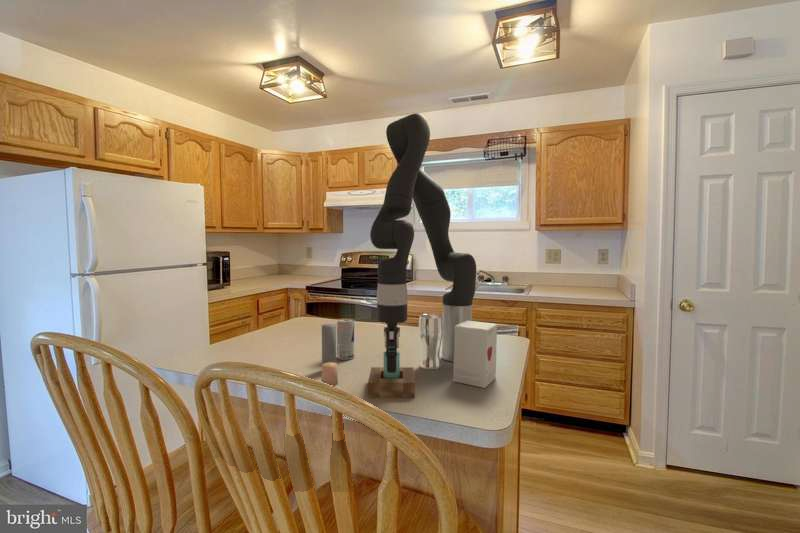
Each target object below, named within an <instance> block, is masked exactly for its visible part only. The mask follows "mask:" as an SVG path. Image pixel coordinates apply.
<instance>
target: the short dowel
mask: <svg viewBox="0 0 800 533" xmlns="http://www.w3.org/2000/svg"><path fill="white" fill-rule="evenodd" d="M338 369H339V364H338V363H337V362H336V363H334V362H328V363H324V364H322V363H321V383H322V382H324V383H327V384H329V385H333V386H332V387H335V386H337V385H338V384H339V380H338V379H339V376H338V375H339V373H338V372H339V371H338Z"/></svg>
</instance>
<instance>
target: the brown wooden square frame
mask: <svg viewBox="0 0 800 533" xmlns="http://www.w3.org/2000/svg"><path fill="white" fill-rule="evenodd" d="M367 380H368V381H367V398H416V390H415V389H416V382H415V372H414V367H410V366H409V367H403V366H402V367H400V379H384V366H382V367H381V366H379V367H378V366H377V367H375V366H371V367H370V372H369V377H368V379H367Z"/></svg>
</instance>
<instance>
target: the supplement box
mask: <svg viewBox="0 0 800 533" xmlns="http://www.w3.org/2000/svg"><path fill="white" fill-rule="evenodd" d="M497 333H498V323H493V322H483V321H476V320H475V321H474V320H472V321H468V320H467V321H465V322H463V323H460V324H458V325H456V326H455V329H454V362H453V369H452V370H453V374H452V376H453V378H452V381H453V382H456V383H459V384H460V383H461V384H464V385H468V386H469V385H470V386H474V387H477V388H483V389H486V388H487V387H488V386H489V385H490V384H491V383H493V381H494V380H495V379H496V378H497V376H496V375H497V339H498V338H497V337H498V334H497Z"/></svg>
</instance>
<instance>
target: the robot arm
mask: <svg viewBox="0 0 800 533" xmlns="http://www.w3.org/2000/svg"><path fill="white" fill-rule="evenodd" d="M385 134H386V139H387V143H388V146H389V148H390V150H391V152H392V154H393V157H394V159H395V160H396V162H397V166H396V168H395V169H394V171H393V172H392V174H391V176H390V177H389V179H388V182H387V185H386V187H385V188H386V190H385V193H384V194H385V195H384V199H383V204H382V206H381V208H380V210H379V212H378V214H377V216H376V217H375V219H374V220H373V223H372V225H371V228H370V234H369V235H370V241H371V244H372V245H373V247H375V248H376V249H379V250H396V253H395V254H394V256H393V257H390V258H384V259H382V260H379V262H378V264H377V290H376V320H377V321H378V322H380V323H381V324H382V323H383V324H384V323H385V324H386V326H385V327H384V328H383V337H384V348H385V351H386V357H387V372H388V373H395V372H396V357H397V350H398V349H399V347H400V336H401V327H399V326H398V324H402V323H405V322H406V321H407V320H408V287H407V269H408V268H407V267H408V266H407V265H408V262H409V261H408V260H409V256H410V253H411V249H412V245H413V242H414V238H415V229H414V227H413V224H412V223H411V222H410V221H409V220H406V219H403V218H405V217H407V216H409V214H411V209H412V204H413V202H414V205H415V209H416V211H417V213H418V216H419V217H420V220H421V223H422V225H423V227H424V228H423V229H424V231H425V233H426V236H427V240H428V241H429V245H430V248H431V251H432V254H433V259H434V263H435V267H436V270H437V272H438V274H439V276H440V278H441V279H443V280H445V281H446V282H451V283H452V288H451V290H450V291H449V292H447V293H444V294H443V295H442V313H441V314H442V315H441V316H442V327H443V332H442V341H441V358H442V359H443V360H444V361H446V362H447V361H448V362H451V363H452V362H453V363H454V329H455V326H456V325H458V324H460V323H463V322H465V321H467V320H468V321H473V301H474V300H473V299H474V297H475V294H476V282H477V263H476V260H475V257H474V256H473V255H471V254H470V253H466V252H456V251H454V249H453V245H452V244H451V240H450V237H449V236H450V235H449V231H450V230H449V228H450V224H451V216H452V214H451V213H452V212H451V207H450V204H449V202H448V199H447V196H446V194H445V191H444V189H443V187H442V186H441V185H440V184H439V183H438V182H436V180H435V179H433V178H432V177H431V176H429V174H428V173H426V172H425V171H424V170H423V168H421V167H422V163H423V161H424V158H425V155H426V152H427V150H428V147H429V145H430V144H429V143H430V141H431V140H430V138H431V128H430V125H429V123H428V120H427V119H426V118H425V116H424V115H422V114H421V113H416V112H415V113H411V114H408V115H406V116H404V117H402V118H399V119H397V120H394V121H392V122H390V123H389V124H388V125H387V126H386V131H385Z"/></svg>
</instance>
